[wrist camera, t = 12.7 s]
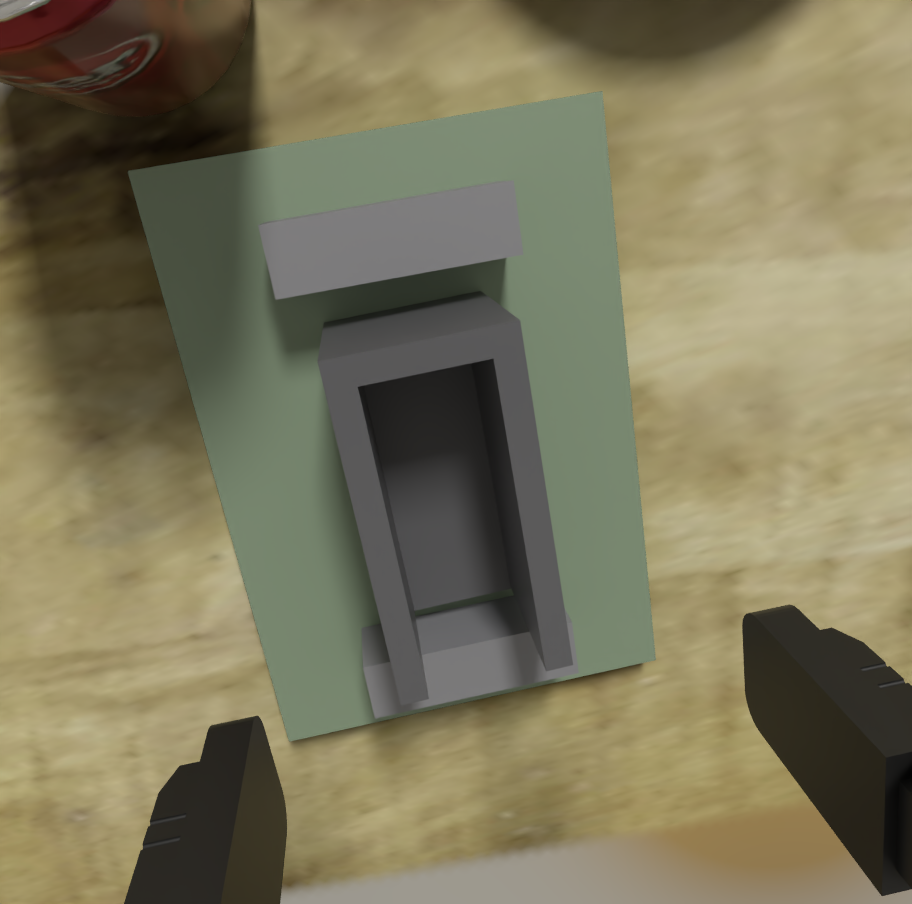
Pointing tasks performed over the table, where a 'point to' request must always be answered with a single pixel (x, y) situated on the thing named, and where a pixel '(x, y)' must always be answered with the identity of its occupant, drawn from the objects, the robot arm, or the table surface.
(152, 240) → the chute mount
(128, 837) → the table surface
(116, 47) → the soda can
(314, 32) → the table surface
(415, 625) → the chute
